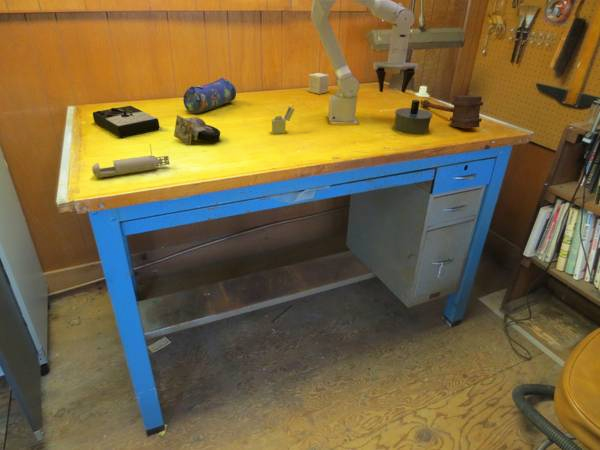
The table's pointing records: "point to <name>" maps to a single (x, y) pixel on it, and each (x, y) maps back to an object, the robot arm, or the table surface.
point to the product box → (318, 83)
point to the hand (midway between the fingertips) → (392, 91)
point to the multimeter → (126, 121)
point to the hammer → (461, 111)
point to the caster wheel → (195, 130)
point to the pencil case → (209, 96)
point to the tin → (411, 125)
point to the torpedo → (130, 165)
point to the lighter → (281, 122)
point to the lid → (414, 112)
